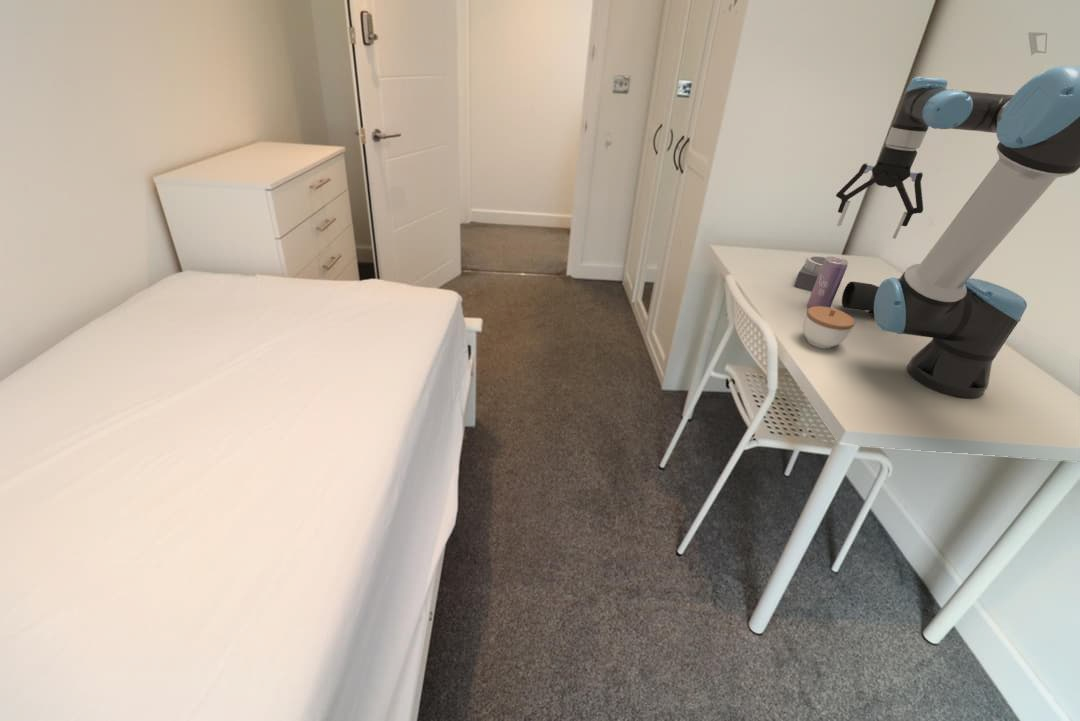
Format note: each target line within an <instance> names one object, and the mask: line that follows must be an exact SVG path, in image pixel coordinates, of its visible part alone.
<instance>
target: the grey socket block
mask: <svg viewBox="0 0 1080 721" xmlns="http://www.w3.org/2000/svg"><path fill="white" fill-rule="evenodd" d="M826 257H827V256H823V255H816V254H815V255H808V256H807V257H806V259H805V263H804V264H803V265H802V267H801V269H800V270H799V272H798V274H797V277H796V280H795V282H794V285H793V287H794V288H797V289H800V290H801V289H802V290H805V291H808V292H812V290H813V288H814V285H815V283H816V280H817V277H818V275H819V272H820V270H821V267H822V265H823V262H824V260H825V259H826Z"/></svg>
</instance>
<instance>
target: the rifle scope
mask: <svg viewBox="0 0 1080 721" xmlns="http://www.w3.org/2000/svg"><path fill="white" fill-rule="evenodd" d="M878 288H879V286H878V285H875V284H872V283H866V282H860V281H859V282H858V281H849V282H848V283H847V284H846V286H845V287H844V290H843V292H842V297H841V305H842V307H843V308H844V309H847V310H849V309H850V310H855V311H861V312H862V311H863V312H866V311H867V312H868V314H869V315H871V318H873V319H875V317H874V301H875V296H876V293H877V290H878Z"/></svg>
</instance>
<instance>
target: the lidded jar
mask: <svg viewBox="0 0 1080 721" xmlns="http://www.w3.org/2000/svg"><path fill="white" fill-rule="evenodd" d="M854 325H855V320H854V318H853V317H852V316H851V315H849V314H848V313H846V312H844V311H842V310H839V309H837V308H833V307H830V308H829V307H822V306H815V307H811V308H808V309H807V310H806V315H805V317H804V320H803V325H802V326H803V327H802V329H803V330H802V331H803V333H804V336H805V338H806V341H807V343H809V344H810V345H812V346H813V347H816V348H820V349H826V348H828V349H831V347H832V348H833V347H835V346H838V345H840V344H841V343H843V342H844V341H845V340H846V338H848V336H849V334H850V332H851V330H852V328H853V327H854Z"/></svg>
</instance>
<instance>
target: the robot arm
mask: <svg viewBox="0 0 1080 721" xmlns="http://www.w3.org/2000/svg"><path fill="white" fill-rule="evenodd" d="M909 82H910V83H909V84H908V87H907V88H906V90H905V92H904V94H903V98H902V100H901V103H900V105H899V108H898V111H897V113H896V116H895V118H894V121H893V124H892V126H891V127H890V130H889V131H888V132H889V133H888V135H887V138H886V140H885V145H886V146H884V147H882V150H881V152H880V155H879V158H878V160H877V161H876V164H875V165H871V164H868V163H867V162H864V163H863V164H862V165H861V166H860V168H859V170H858V172H857V173H856V174H855V175H854V176H853V177H852V178H851V179H850V180H849V181H848V182H847V183H846V184H845V185H844V186H843V187H842V188H840V190H839V191H838V192H837V193H836V195H835V197H836V198H839V199H840V201H841V202H840V203H839V207H838V210H837V213H840V217H839V219H838V222H837V224H836V226H837V227H841V226H842V224H843V221H844V219H845V217H846V214H847V211H848V209H849V206H850V204H851V200H850V199H851V198H853V197H854V196H856V195H857V194H860V193H861V192H863V191H864V190H866V189H867V188H869V187H871V186H872V185H874V184H876V185H878V186H880V187H884V186H885V187H887V188H889V189H890V188H895V187H896V189H897V192H898V193H899V196H900V199H901V200H902V202H903V205H904V207H905V211H904V212H903V213H902V216H901V217H900V220H899V222H898V225H897V227H896V229H895V231H894V234H893V236H892V239H896V238H897V236H898V234H899V232H900V231H901V228H902V227H907V226H908V224H909V223H910V221H911V219H912V216H913V215H914V214H922V213H923V211H924V203H923V202H924V201H923V190H922V180H923V176H924V173H923V171H918V172H912V171H911V169H912V166H913V164H914V161H915V159H916V157H917V155H918V151H917V149H920V147H921V145H922V143H923V141H924V139H925V136H926V134H927V131H928V130H929V127H930V128H932V129H934V130H937V129H939V130H950V129H951V130H961V131H974V132H984V133H993V134H996V137H997V140H998V141H999V142H998V143H997V145H996V148H995V149H996V152H997V155H998V160H997V161H996V162H995V164H993V165H994V166H993V167H992V168H991V169H990V170H989V172H988V173H987V174H986V175H985V177H984V178H983V180H982V181H981V183H980V184H979V185H978V186H977V188H976V189H975V190H974V191H973V193H972V194H971V196H970V197H969V198H968V200H967V201H966V202H965V204H964V205H963V206H962V208H961V209H960V211H958V213H957V214H956V215H955V217H954V219H953V220H952V221H951V222H950V224H948V227H947V228H946V229H945V231H944V232H943V233H942V234H941V236H940V237H939V238H938V240H937V241H936V242H935V244H934V245H933V247H932V248H931V249H930V250H929V252H928V253H927V254H926V256H925V257H924V259H922V261H921V262H920V263H917V264H916V263H915V264H913V265H910V266H908V267H907V268H906V269H905V270H904V272H903V273H902V275H901V276H900V277H899V278H896V277H889V278H885V279H884V280H883V281H882V282H881V283H880V284H879V286H878V287H879V288H878V290H877V293H876V296H875V301H874V317H875V318H874V320H875V322H876V325H877V326H878V327H879V328H880V330H883V331H884V332H890V333H895V334H896V335H908V336H909V335H910V336H916V337H926V338H932V339H931V340H930V342H928V343H927V344H926V345H925V346H924V347H923V348H921V349H920V350H919V351H918V352H917V353H916V354H914V355H913V356H912V357H911V359H910V361H909V362H908V364H907V367H906V369H907V372H908V373H909V374H910V376H911V377H913V379H915V380H916V381H918V382H919V383H921V384H923V385H924V386H926V387H929V388H930V389H932V390H935V391H938V393H939V392H940V393H943V394H944V395H949V396H953V397H957V398H962V399H963V398H965V399H976V398H980V397H981V396H983V395H984V393H985V392H986V390H987V389H988V386H989V383H990V377H991V370H992V365H993V361H994V360H995V358H996V357H997V355H998V354H999V352H1000V350H1001V349H1002V347H1003V346H1004V345H1005V342H1007V340H1008V338H1009V336H1010V335H1011V334H1012V332H1013V331H1014V329H1015V327H1017V325H1018V324H1019V322H1021V319H1022V317H1023V315H1024V313H1025V311H1026V309H1027V307H1028V303H1027V301H1026V299H1024V297H1022V296H1021V295H1019V294H1018V293H1017V292H1014V291H1012V290H1011V289H1008V288H1006V287H1003V286H1001V285H999V284H996V283H994V282H993V283H992V282H990V281H986V280H983V279H978V278H971V277H972V276H973V275H974V274H975V272H977V270H978V269H979V268H980V267H981V266H982V265H983V263H984V262H985V261H986V260H987V259H988V258H989V257H990V255H991V254H992V253H993V252H994V251H995V249H996V248H998V247H999V245H1000V244H1001V243H1002V242H1003V240H1004V239H1005V238H1006V237H1007V236H1008V234H1009V233H1010V232H1011V231H1012V230H1013V229H1014V228H1015V226H1016V225H1017V224H1018V223H1019V222H1020V221H1021V220H1022V218H1023V217H1024V216H1025V215H1026V214H1027V213H1028V212H1029V211H1030V210H1031V208H1032V207H1033V206H1034V205H1035V203H1036V202H1038V200H1039V199H1040V198H1041V197H1042V195H1043V194H1044V193H1045V192H1046V191H1047V190H1048V188H1049V187H1050V186H1051V185H1052V184H1053V183H1054V182H1055V180H1056V179H1057V178H1062V177H1066V176H1070V175H1073V174H1075V173H1076V172H1077V171H1078V170H1080V65H1058V66H1054V67H1052V68H1049V69H1047V70H1045V71H1043V72H1040V73H1038V74H1037V75H1034V77H1032V78H1031V79H1029V80H1028V81H1027V82H1025V83H1024V84H1023V85H1022V86H1021V87H1020V88H1019V89H1018V90H1017V91H1016V92H1015V93H1014V94H1004V93H1003V94H1001V93H989V92H980V91H969V90H967V91H966V90H960V89H948V88H947V86H948V80H947V79H946V78H938V77H926V76H915V77H914V78H912V79H911V80H910V81H909ZM870 171H871V172H872V176H873V177H872V178H870V179H869V180H868V181H865V182H864V183H863V184H861V185H860V186H858V187H857V188H855V189H853V190H852V191H851V192H849V193H846V192H847V191H848V190H849V189H850V188H851V187H852V186H853V185H854V184H855V183H856V182H857V181H858V180H859V179H860V178H861V177H862V176H863V175H864V174H868V173H869V172H870ZM909 178H911V181H912V182H913V183H914V184H913V186H914V194H915V205H916V207H914V205H913V204H912V201H911V198H910V197H909V194H908V191H907V190H906V188H905V184H904V181H906V180H907V179H909ZM845 193H846V194H845Z"/></svg>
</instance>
